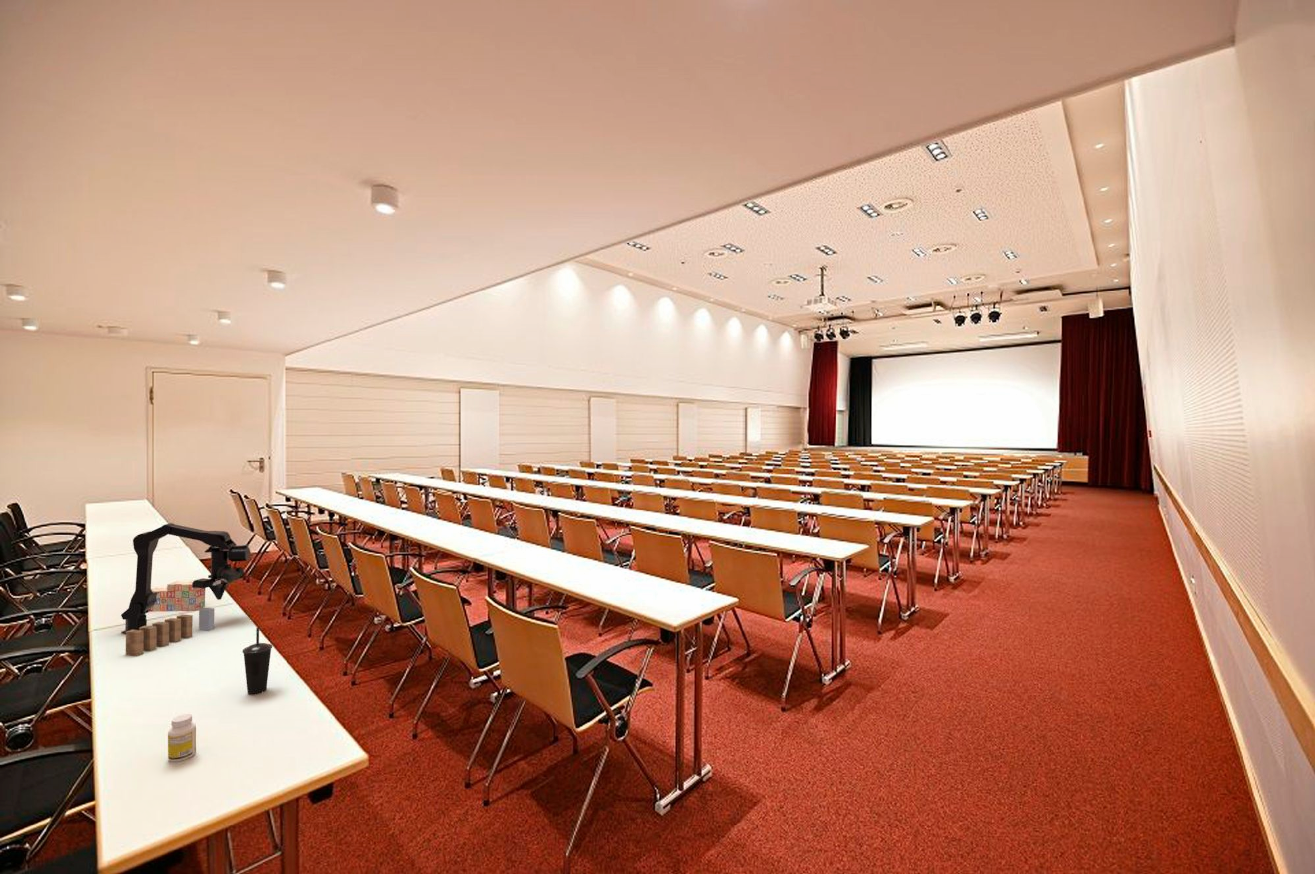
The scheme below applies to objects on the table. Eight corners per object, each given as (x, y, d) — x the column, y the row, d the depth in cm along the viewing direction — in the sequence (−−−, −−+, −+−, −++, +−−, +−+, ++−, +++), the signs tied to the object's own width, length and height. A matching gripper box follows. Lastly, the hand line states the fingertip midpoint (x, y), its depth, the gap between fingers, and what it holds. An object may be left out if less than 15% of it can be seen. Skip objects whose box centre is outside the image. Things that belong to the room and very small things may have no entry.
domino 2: (139, 650, 210) (139, 627, 210) (145, 648, 213) (145, 625, 212) (150, 651, 209) (150, 628, 209) (156, 649, 212) (156, 626, 212)
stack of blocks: (144, 611, 255) (145, 584, 255) (156, 607, 261) (156, 580, 261) (195, 611, 256) (196, 584, 256) (205, 607, 263) (205, 580, 263)
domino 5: (176, 637, 224) (176, 616, 224) (182, 635, 226) (182, 614, 226) (186, 638, 223) (187, 617, 223) (192, 636, 225) (192, 615, 225)
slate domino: (198, 629, 233) (199, 609, 232) (204, 628, 235) (204, 607, 235) (209, 630, 232) (209, 610, 232) (214, 629, 234) (214, 608, 234)
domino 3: (152, 646, 215) (152, 623, 215) (158, 643, 217) (158, 621, 217) (162, 647, 214) (163, 624, 214) (168, 645, 216) (169, 622, 216)
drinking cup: (277, 688, 181) (278, 625, 181) (253, 698, 174) (254, 633, 174) (260, 684, 184) (261, 622, 184) (236, 694, 177) (236, 630, 176)
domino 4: (164, 641, 219) (164, 619, 219) (170, 639, 221) (170, 618, 221) (175, 642, 218) (175, 620, 218) (180, 640, 220) (181, 618, 220)
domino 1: (125, 655, 206) (125, 631, 206) (132, 652, 208) (132, 629, 208) (136, 656, 205) (136, 632, 205) (143, 654, 207) (143, 630, 207)
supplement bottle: (178, 750, 146) (178, 712, 145) (201, 750, 146) (201, 711, 146) (162, 763, 140) (162, 723, 140) (185, 762, 141) (185, 722, 141)
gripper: (214, 568, 228) (213, 607, 228) (255, 558, 246) (255, 594, 246) (191, 566, 230) (190, 605, 230) (233, 557, 248) (233, 593, 248)
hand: (219, 599), depth 238 cm, fingers closed
